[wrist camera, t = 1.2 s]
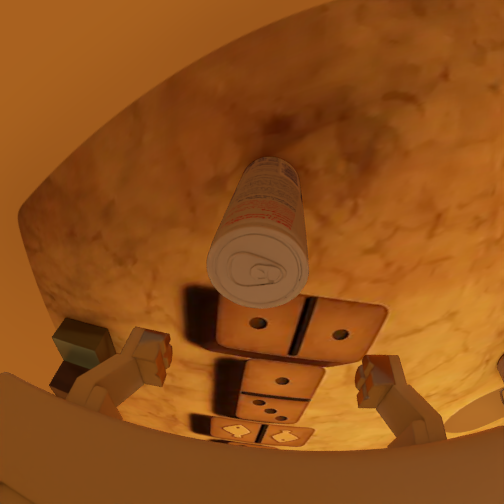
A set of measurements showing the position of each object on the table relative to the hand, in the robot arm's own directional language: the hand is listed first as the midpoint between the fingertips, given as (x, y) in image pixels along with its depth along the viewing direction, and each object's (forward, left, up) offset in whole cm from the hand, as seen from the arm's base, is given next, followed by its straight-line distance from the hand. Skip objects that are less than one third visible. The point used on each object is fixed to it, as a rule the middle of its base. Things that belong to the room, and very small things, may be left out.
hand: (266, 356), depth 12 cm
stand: (+6, -42, -20) cm, 47 cm away
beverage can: (-1, 0, -21) cm, 21 cm away
